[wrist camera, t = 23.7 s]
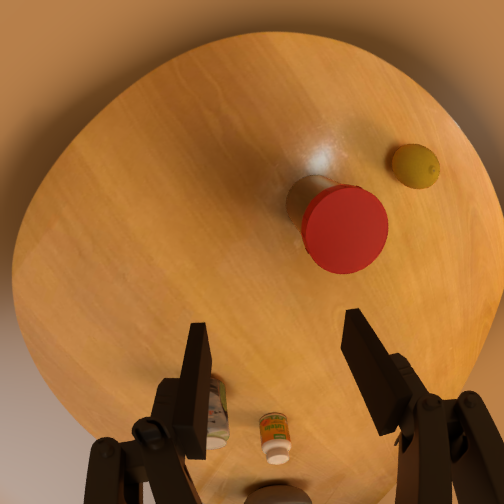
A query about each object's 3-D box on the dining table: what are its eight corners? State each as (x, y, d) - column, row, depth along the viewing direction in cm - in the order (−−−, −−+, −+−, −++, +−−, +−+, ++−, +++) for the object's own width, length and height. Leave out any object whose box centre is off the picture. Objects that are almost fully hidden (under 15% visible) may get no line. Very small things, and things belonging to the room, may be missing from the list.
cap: (327, 168, 24) (334, 170, 22) (393, 209, 26) (402, 213, 24) (285, 246, 26) (288, 253, 25) (353, 278, 28) (359, 286, 26)
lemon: (374, 155, 33) (407, 160, 26) (404, 135, 32) (440, 137, 25) (392, 190, 35) (426, 204, 28) (420, 170, 34) (456, 179, 27)
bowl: (316, 486, 67) (322, 511, 58) (259, 501, 70) (261, 525, 60) (292, 470, 60) (298, 500, 51) (227, 485, 63) (227, 513, 53)
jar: (302, 164, 34) (333, 175, 23) (351, 191, 35) (395, 214, 24) (275, 216, 36) (293, 249, 25) (324, 240, 37) (357, 279, 26)
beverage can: (208, 366, 44) (204, 425, 33) (237, 389, 46) (239, 446, 35) (181, 381, 45) (172, 437, 34) (210, 403, 47) (207, 457, 36)
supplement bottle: (285, 410, 49) (292, 451, 40) (287, 424, 51) (294, 463, 42) (257, 414, 49) (260, 456, 40) (261, 429, 51) (265, 467, 42)
